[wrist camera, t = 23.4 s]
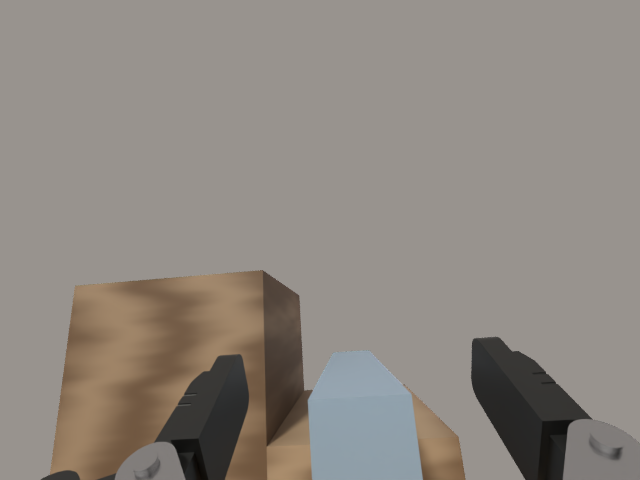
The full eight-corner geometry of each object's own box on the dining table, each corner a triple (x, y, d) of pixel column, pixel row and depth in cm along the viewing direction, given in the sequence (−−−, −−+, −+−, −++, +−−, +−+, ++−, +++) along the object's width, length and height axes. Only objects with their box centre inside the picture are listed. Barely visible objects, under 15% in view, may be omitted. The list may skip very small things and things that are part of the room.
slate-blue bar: (372, 388, 31) (368, 350, 32) (427, 518, 10) (411, 394, 11) (336, 390, 31) (333, 352, 32) (314, 522, 10) (307, 400, 11)
